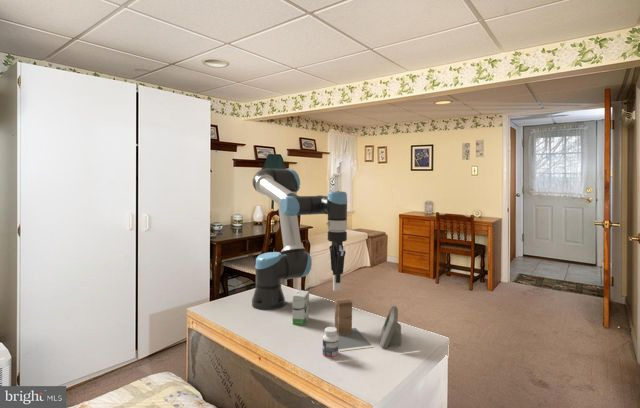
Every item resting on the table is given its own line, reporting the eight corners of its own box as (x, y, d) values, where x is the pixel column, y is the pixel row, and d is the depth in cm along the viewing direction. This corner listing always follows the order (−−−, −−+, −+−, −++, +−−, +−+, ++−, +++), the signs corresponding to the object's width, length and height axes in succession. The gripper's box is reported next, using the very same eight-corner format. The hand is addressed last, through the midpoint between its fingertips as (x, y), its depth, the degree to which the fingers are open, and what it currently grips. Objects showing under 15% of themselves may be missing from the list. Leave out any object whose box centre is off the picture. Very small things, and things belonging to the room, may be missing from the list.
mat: (325, 332, 136) (325, 330, 136) (355, 328, 139) (355, 327, 139) (340, 352, 119) (340, 351, 119) (373, 348, 123) (373, 347, 123)
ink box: (304, 326, 141) (304, 296, 140) (292, 325, 142) (292, 295, 141) (309, 318, 149) (309, 290, 149) (297, 317, 150) (297, 289, 150)
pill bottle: (323, 351, 120) (323, 325, 120) (338, 352, 120) (339, 326, 119) (321, 359, 115) (322, 332, 115) (338, 360, 115) (338, 332, 114)
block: (334, 329, 137) (335, 299, 136) (347, 328, 138) (347, 298, 137) (338, 335, 132) (339, 303, 131) (351, 334, 133) (352, 302, 132)
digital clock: (383, 330, 138) (383, 303, 137) (407, 334, 134) (407, 306, 134) (371, 348, 123) (372, 317, 123) (397, 353, 120) (398, 322, 119)
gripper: (323, 229, 146) (323, 286, 147) (333, 233, 134) (332, 295, 135) (340, 228, 148) (340, 285, 149) (352, 232, 136) (351, 294, 137)
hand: (336, 290), depth 142 cm, fingers closed
